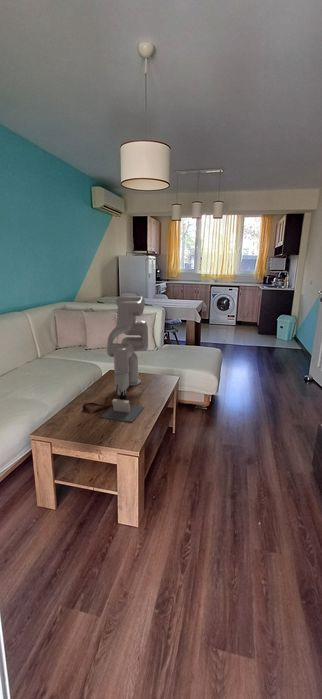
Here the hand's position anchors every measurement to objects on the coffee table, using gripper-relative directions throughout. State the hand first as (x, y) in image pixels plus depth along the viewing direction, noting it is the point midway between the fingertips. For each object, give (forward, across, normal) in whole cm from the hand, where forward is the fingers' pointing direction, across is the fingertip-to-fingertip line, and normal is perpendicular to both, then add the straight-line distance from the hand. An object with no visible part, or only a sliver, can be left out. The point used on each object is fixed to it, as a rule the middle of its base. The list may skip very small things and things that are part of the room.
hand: (122, 401), depth 180 cm
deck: (+5, +2, 0) cm, 5 cm away
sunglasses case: (+6, -1, -15) cm, 16 cm away
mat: (+6, +2, +1) cm, 6 cm away
